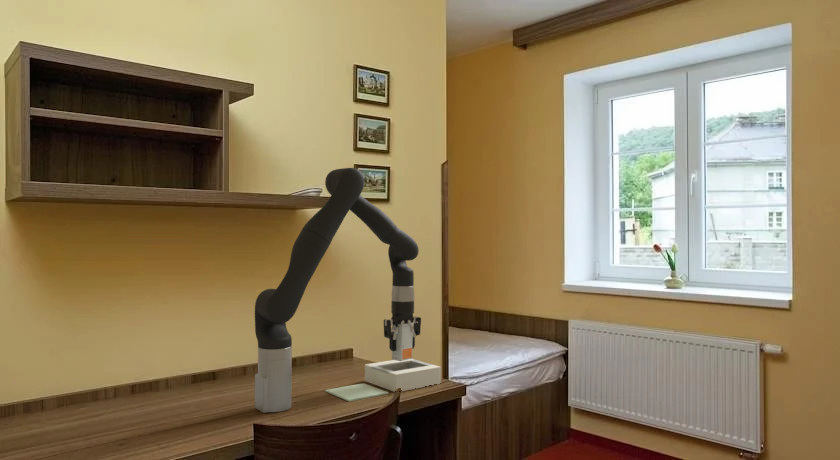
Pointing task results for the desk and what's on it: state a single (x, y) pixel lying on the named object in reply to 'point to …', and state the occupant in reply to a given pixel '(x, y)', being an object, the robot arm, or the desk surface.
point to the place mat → (356, 392)
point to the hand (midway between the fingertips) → (402, 349)
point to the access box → (402, 374)
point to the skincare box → (403, 343)
